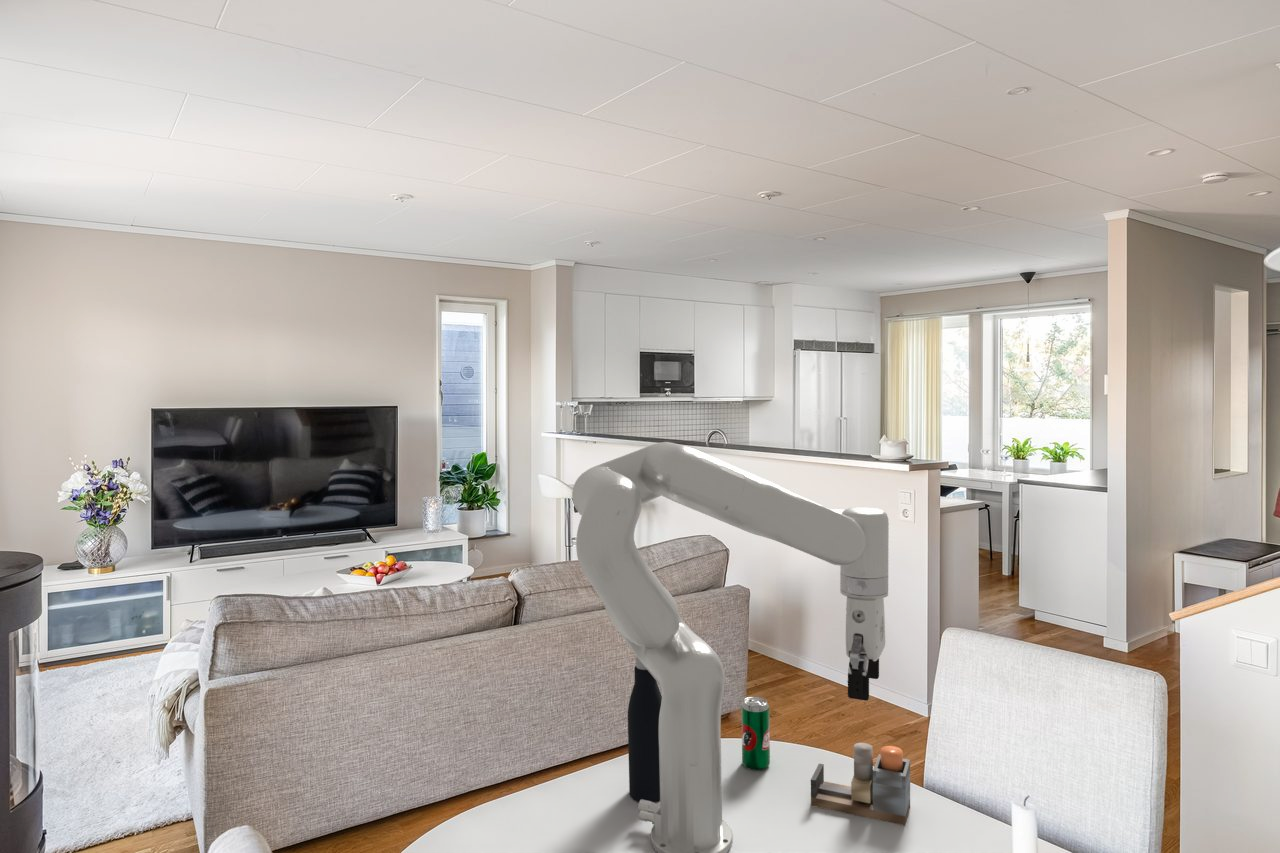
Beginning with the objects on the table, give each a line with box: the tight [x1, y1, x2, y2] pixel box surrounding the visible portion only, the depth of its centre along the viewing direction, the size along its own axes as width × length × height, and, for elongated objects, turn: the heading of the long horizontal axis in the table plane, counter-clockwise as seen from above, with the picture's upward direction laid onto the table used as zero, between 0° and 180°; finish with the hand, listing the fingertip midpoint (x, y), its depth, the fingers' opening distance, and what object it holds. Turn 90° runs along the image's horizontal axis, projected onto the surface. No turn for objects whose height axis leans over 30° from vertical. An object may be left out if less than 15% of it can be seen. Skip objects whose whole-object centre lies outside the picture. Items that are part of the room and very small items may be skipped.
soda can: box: [741, 696, 771, 771], centre depth 147 cm, size 5×5×12 cm
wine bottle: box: [627, 655, 662, 803], centre depth 138 cm, size 6×6×30 cm
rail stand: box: [810, 753, 911, 827], centre depth 133 cm, size 15×6×8 cm, turn 65°
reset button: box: [880, 745, 904, 771], centre depth 130 cm, size 3×3×3 cm
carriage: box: [850, 742, 874, 803], centre depth 132 cm, size 3×5×8 cm, turn 155°
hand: (863, 687), depth 132 cm, fingers open, 9 cm apart
